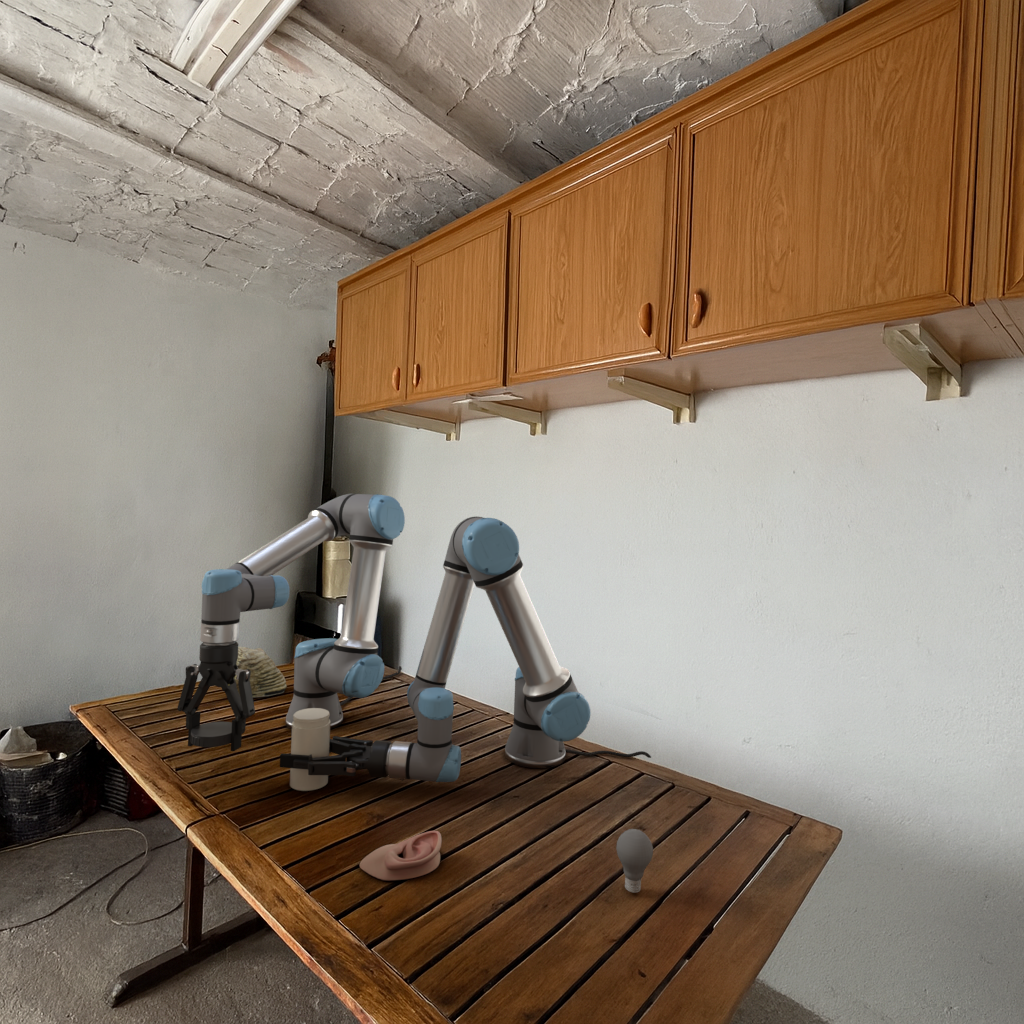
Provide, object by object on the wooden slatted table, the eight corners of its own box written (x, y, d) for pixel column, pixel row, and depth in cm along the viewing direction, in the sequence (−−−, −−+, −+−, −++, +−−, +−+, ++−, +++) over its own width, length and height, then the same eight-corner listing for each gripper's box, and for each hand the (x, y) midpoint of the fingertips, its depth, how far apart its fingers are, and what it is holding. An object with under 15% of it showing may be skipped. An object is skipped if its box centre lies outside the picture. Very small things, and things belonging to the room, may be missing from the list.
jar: (304, 771, 145) (307, 705, 145) (335, 778, 143) (338, 710, 143) (281, 786, 138) (284, 716, 137) (313, 793, 135) (316, 722, 135)
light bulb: (610, 879, 108) (613, 822, 108) (644, 879, 109) (647, 822, 109) (619, 902, 102) (622, 840, 102) (655, 901, 103) (658, 840, 103)
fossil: (218, 695, 195) (220, 647, 195) (278, 685, 208) (279, 640, 207) (228, 703, 189) (230, 653, 188) (289, 692, 201) (290, 645, 201)
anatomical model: (352, 851, 106) (379, 818, 118) (351, 875, 106) (379, 839, 118) (427, 864, 104) (448, 829, 115) (426, 888, 104) (447, 850, 115)
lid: (207, 729, 141) (208, 719, 141) (247, 733, 140) (247, 723, 140) (180, 744, 132) (180, 734, 132) (222, 749, 130) (222, 738, 130)
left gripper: (161, 641, 134) (156, 747, 134) (257, 650, 130) (252, 758, 131) (184, 634, 141) (179, 735, 141) (276, 642, 138) (271, 745, 138)
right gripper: (375, 798, 128) (267, 790, 130) (400, 757, 149) (307, 750, 151) (377, 762, 128) (268, 754, 130) (402, 725, 149) (308, 719, 151)
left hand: (214, 746), depth 136 cm, fingers closed on lid, 9 cm apart
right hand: (289, 752), depth 140 cm, fingers closed on jar, 8 cm apart
